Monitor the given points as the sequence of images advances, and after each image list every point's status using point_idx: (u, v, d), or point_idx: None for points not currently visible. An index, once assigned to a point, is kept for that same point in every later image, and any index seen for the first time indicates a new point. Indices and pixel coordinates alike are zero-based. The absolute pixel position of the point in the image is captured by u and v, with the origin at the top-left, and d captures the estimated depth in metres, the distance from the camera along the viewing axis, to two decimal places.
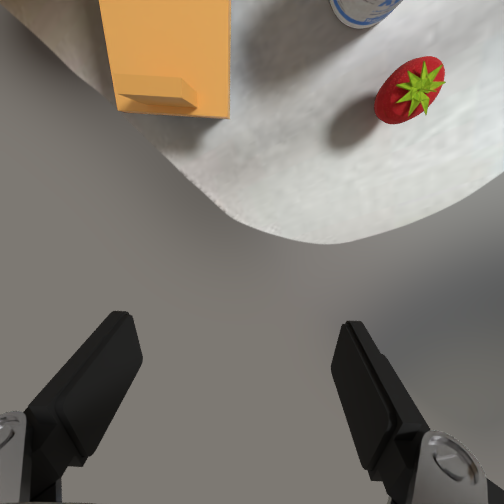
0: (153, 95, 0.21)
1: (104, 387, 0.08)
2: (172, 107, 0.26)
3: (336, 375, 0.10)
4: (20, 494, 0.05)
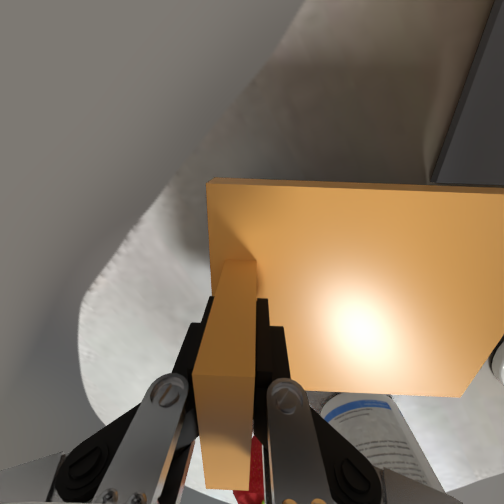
0: None
1: None
2: None
3: None
4: (162, 470, 0.05)
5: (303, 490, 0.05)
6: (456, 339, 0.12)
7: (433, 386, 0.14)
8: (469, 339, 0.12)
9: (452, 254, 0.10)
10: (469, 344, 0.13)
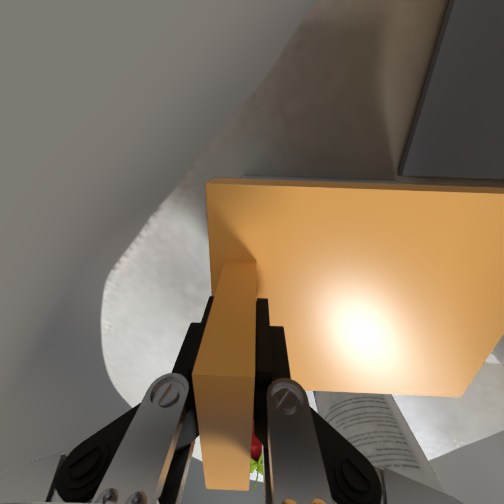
0: None
1: None
2: None
3: None
4: (162, 470, 0.05)
5: (303, 491, 0.05)
6: (456, 339, 0.12)
7: (434, 386, 0.14)
8: (469, 339, 0.12)
9: (452, 254, 0.10)
10: (469, 344, 0.13)
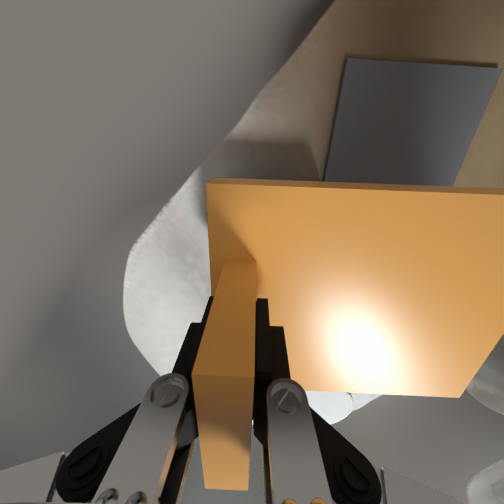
0: None
1: None
2: None
3: None
4: (162, 470, 0.05)
5: (303, 491, 0.05)
6: (455, 339, 0.13)
7: (433, 386, 0.14)
8: (468, 339, 0.13)
9: (451, 254, 0.10)
10: (469, 344, 0.13)
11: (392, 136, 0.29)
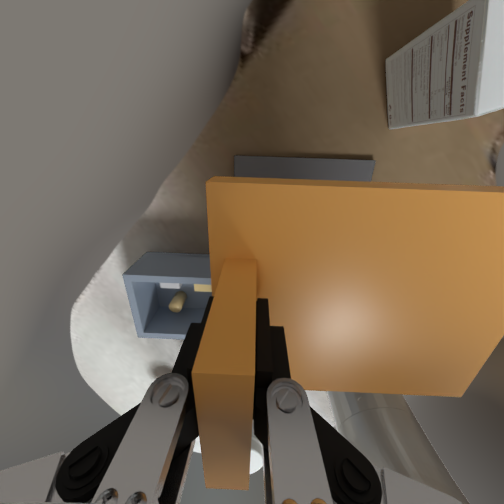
0: None
1: None
2: None
3: None
4: (162, 470, 0.05)
5: (304, 491, 0.05)
6: (457, 338, 0.12)
7: (434, 386, 0.14)
8: (470, 338, 0.12)
9: (453, 253, 0.10)
10: (470, 343, 0.13)
11: None
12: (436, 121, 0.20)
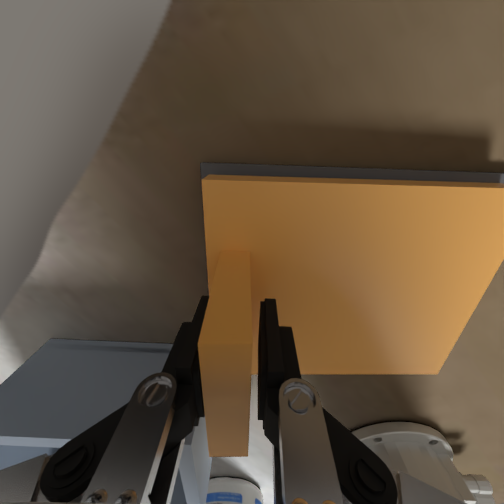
0: None
1: None
2: None
3: (258, 348, 0.11)
4: (152, 467, 0.05)
5: (314, 491, 0.05)
6: (431, 319, 0.14)
7: (413, 365, 0.16)
8: (442, 319, 0.14)
9: (424, 241, 0.12)
10: (443, 324, 0.14)
11: None
12: None
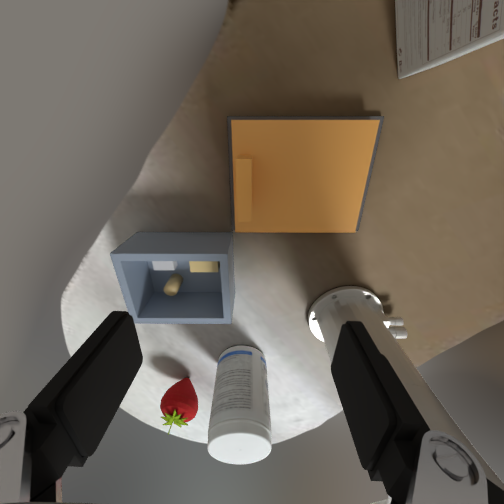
0: (236, 195, 0.22)
1: (104, 387, 0.08)
2: None
3: (336, 375, 0.10)
4: (20, 494, 0.05)
5: None
6: (344, 194, 0.28)
7: (340, 225, 0.29)
8: (350, 194, 0.28)
9: (331, 148, 0.25)
10: (350, 197, 0.28)
11: None
12: (459, 51, 0.17)
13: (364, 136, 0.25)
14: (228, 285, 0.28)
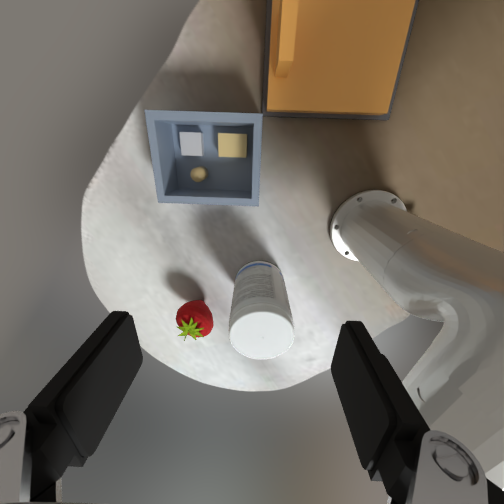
0: (281, 26, 0.22)
1: (104, 387, 0.08)
2: (275, 46, 0.27)
3: (336, 375, 0.10)
4: (20, 494, 0.05)
5: None
6: (380, 65, 0.28)
7: (373, 104, 0.29)
8: (385, 65, 0.28)
9: (371, 6, 0.25)
10: (386, 68, 0.28)
11: None
12: None
13: None
14: (259, 155, 0.28)
